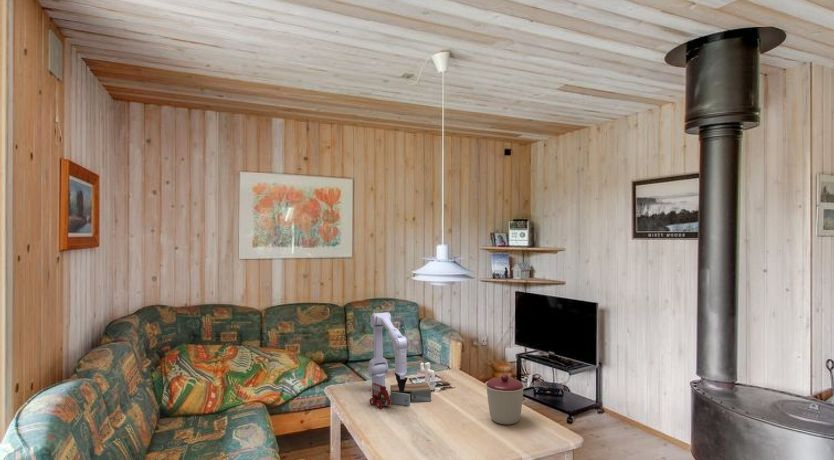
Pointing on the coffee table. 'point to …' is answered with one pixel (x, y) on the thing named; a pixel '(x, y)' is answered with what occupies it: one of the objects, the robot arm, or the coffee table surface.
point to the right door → (401, 398)
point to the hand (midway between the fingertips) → (401, 389)
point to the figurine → (428, 374)
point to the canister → (505, 399)
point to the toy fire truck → (379, 396)
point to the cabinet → (414, 391)
